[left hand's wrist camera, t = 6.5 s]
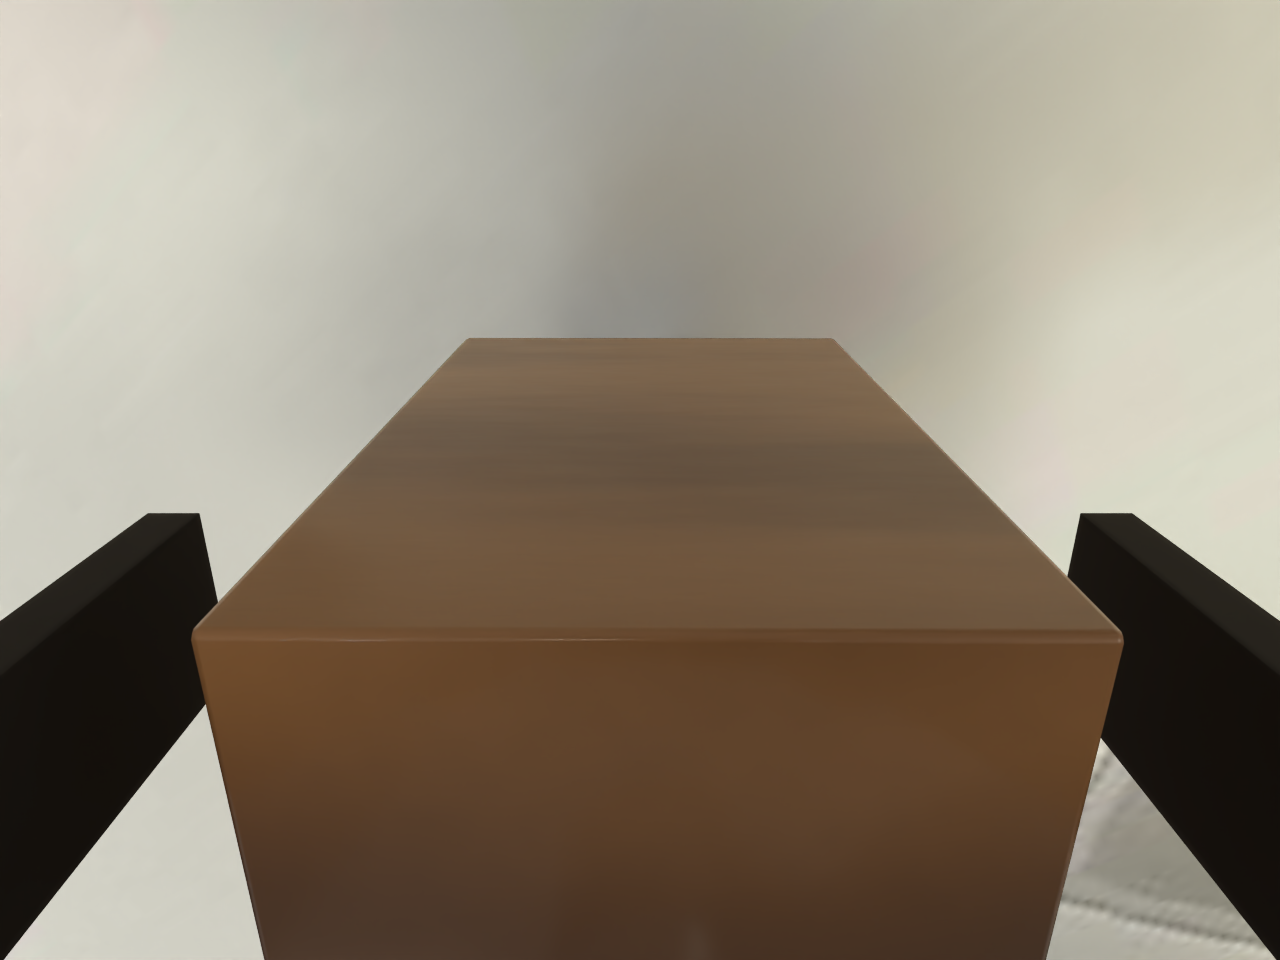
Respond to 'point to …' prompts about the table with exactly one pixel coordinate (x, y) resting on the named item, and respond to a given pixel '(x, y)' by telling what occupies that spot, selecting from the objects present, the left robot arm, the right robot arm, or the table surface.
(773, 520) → the box
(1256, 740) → the left robot arm
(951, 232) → the table surface
